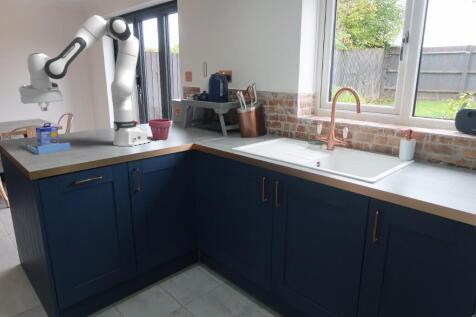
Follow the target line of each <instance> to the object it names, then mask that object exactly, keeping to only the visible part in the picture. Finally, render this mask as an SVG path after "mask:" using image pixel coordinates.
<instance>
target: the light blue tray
mask: <svg viewBox="0 0 476 317" xmlns="http://www.w3.org/2000/svg"><path fill="white" fill-rule="evenodd" d="M19 145H20V147H22V148H24V149H26V150H29V151H30V152H32V153H34V154H36V155H43V154H44V155H45V154H50V153H57V152H58V153H59V152H63V151H64V152H65V151H70V150H71V143H70V142H62V143H61V142H59V144H54V145H46V146H38V145H37V148H36V147H34V146H32V145H29V144H25V143H24V142H21V141H20V142H19Z"/></svg>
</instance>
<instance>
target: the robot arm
mask: <svg viewBox="0 0 476 317" xmlns="http://www.w3.org/2000/svg"><path fill="white" fill-rule="evenodd" d="M104 36H106V37H109V38H111V39H113V40H114V41H115V40H116V41H118V51H117V56H116V61H115V66H114V69H115V70H114V76H113V81H112V82H111V84H110V93H111V100H112V102H111V103H112V108H113V130H114V136H113V137H114V138H113V143H112V144H113V145H112V146H116V147H117V146H118V147H119V146H120V147H136V146H140V145H139V144H141V145H145V144H149V143H148V142H150V143H152V142H151V139H148V137H147V136H148V135H147V133H146V132H145V131H144V130H143V129H141V128H140V127H138V126H137V125H140V121H138V120H134V108H133V102H132V94H133V91H134V85H135V84H134V83H135V76H136V68H137V63H138V59H139V52H140V51H139V50H140V40H139V39H138V38H137V37H135V35H132V33H131V29H130V27H129V23H128V22H127V21H126V20H125V19H124V18H123V17H121V16H113V17H111V18H110V19H109V20H105V19H104V18H103V17H102V16H100V15H98V14H93V15H92V16H90V17H88V19H86V20H85V21H84V22H83V23H82V24H81V25H80V26H79V27H78V28H77V29H76V31H75V33H74V34H73V36H72V39H71V40H70V41H69V42H70V43H69V44H68V45H67V46H66V47H65V48H64V49H63V50H62V51H61V53H59V55H57V56H55V57H51V56H49V55H47V54H45V53H43V52H35V53H31V54H29V55H28V56H27V68H28V73H29V80H30V85H28V84H27V85H21V86H20V87H19V88H18V92H19V94H20V102H21V104H26V105H27V104H37V106H39V107H40V110H41V112H47V111H48V112H49V106H50V104H51V103H54V102H63V101H64V100H65V98H64V93H63V92H64V91H63V90H62V89H61V84H60V83H57V82H54V81H50V79H52V80H61V79H63V78H65V76H66V75H67V73H68V68H69V66H70V65H71V64H72V62H74V60H75V59H76V58H77V57H78V56H79V55H80V54H81V53H83V52H85V51H88V50H90V49H91V48H93V47H94V46H95V45H96V44H97V43H98V42H100V40H101V39H102V38H103V37H104ZM43 103H45V107H44V106H43ZM144 143H145V144H144ZM135 145H136V146H135Z"/></svg>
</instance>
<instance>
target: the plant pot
mask: <svg viewBox="0 0 476 317" xmlns="http://www.w3.org/2000/svg"><path fill="white" fill-rule="evenodd" d="M148 126H149V128H150V132H151V135H152V139H153V140H154V141H157V140H163V141H166V140H165V139H167V140H168V139H169V138H168V137H169V133H170V128H171V126H172V120H171V119H168V118H153V119H149V120H148Z"/></svg>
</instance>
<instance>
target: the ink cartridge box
mask: <svg viewBox="0 0 476 317" xmlns="http://www.w3.org/2000/svg"><path fill="white" fill-rule="evenodd" d="M51 124H52V123H51V122H47V123H44V124H43V126H36V127H35V135H36V141H37V147H38V146H46V145H54V144H59V143H60V142H59V131H58V130H59V129H58V126H55V125H51Z"/></svg>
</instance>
